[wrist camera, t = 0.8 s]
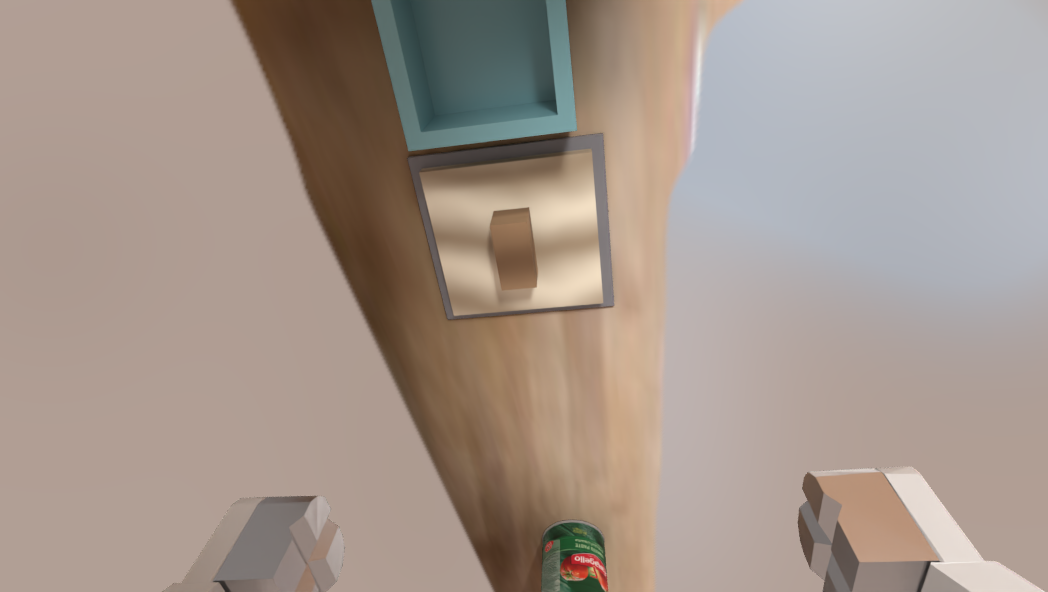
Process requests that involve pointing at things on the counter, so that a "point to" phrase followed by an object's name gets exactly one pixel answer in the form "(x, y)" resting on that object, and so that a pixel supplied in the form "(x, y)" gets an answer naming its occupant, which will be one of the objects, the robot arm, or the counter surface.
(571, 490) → the counter surface
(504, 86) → the teal open box
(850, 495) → the robot arm
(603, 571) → the canned tomato
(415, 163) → the mat
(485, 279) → the lid
